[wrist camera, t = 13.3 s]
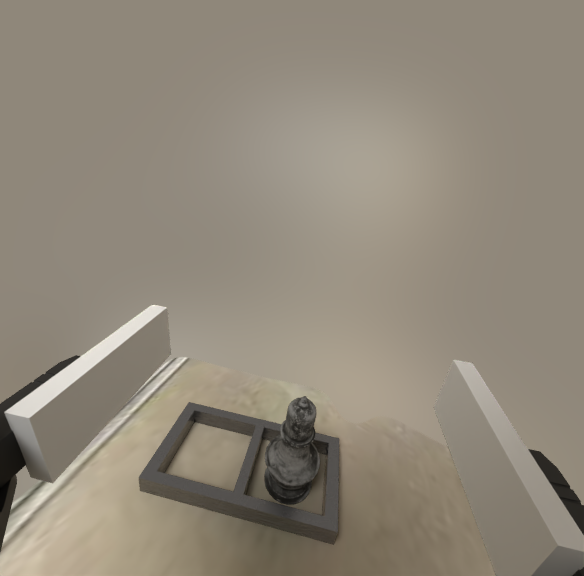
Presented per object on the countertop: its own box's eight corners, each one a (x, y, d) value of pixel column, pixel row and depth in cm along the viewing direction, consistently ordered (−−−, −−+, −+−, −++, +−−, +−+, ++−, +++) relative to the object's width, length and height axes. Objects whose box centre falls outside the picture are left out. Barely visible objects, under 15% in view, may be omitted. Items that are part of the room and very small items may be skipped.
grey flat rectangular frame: (335, 449, 36) (339, 438, 35) (333, 544, 27) (337, 532, 26) (189, 413, 38) (188, 402, 37) (140, 490, 29) (138, 477, 28)
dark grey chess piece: (250, 484, 31) (261, 399, 26) (280, 445, 36) (294, 367, 31) (297, 520, 28) (319, 434, 24) (323, 473, 33) (345, 393, 28)
